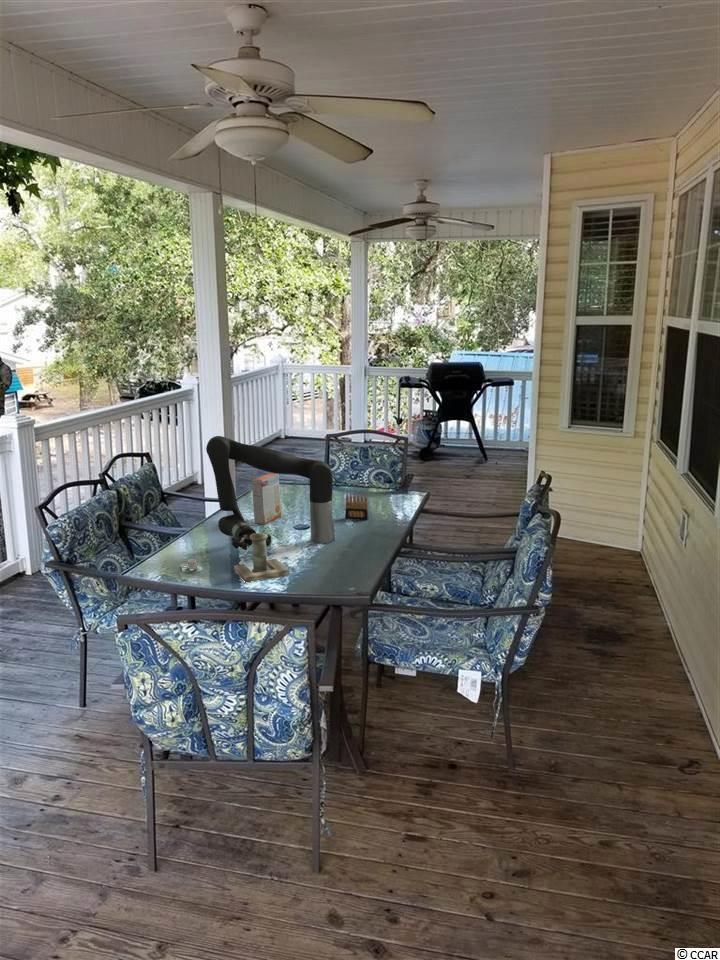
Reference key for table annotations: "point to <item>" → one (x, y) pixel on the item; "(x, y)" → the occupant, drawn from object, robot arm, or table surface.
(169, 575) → the table surface
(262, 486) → the cracker box
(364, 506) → the ammunition clip
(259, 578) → the tan u-shaped bracket
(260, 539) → the bobbin
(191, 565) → the white curved piece
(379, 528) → the table surface
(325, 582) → the table surface
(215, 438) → the robot arm
